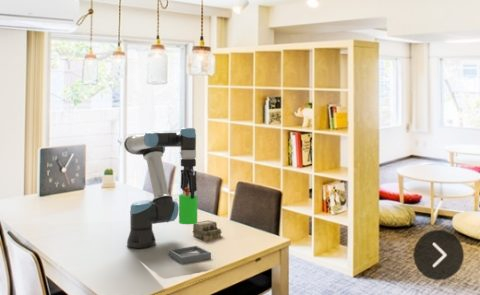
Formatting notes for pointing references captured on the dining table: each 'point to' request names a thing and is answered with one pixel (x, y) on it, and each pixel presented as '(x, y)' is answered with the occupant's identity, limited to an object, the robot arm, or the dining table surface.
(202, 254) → the tray
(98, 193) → the dining table surface
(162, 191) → the robot arm
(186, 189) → the green-shelled ribbed roller
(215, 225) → the miniature house
